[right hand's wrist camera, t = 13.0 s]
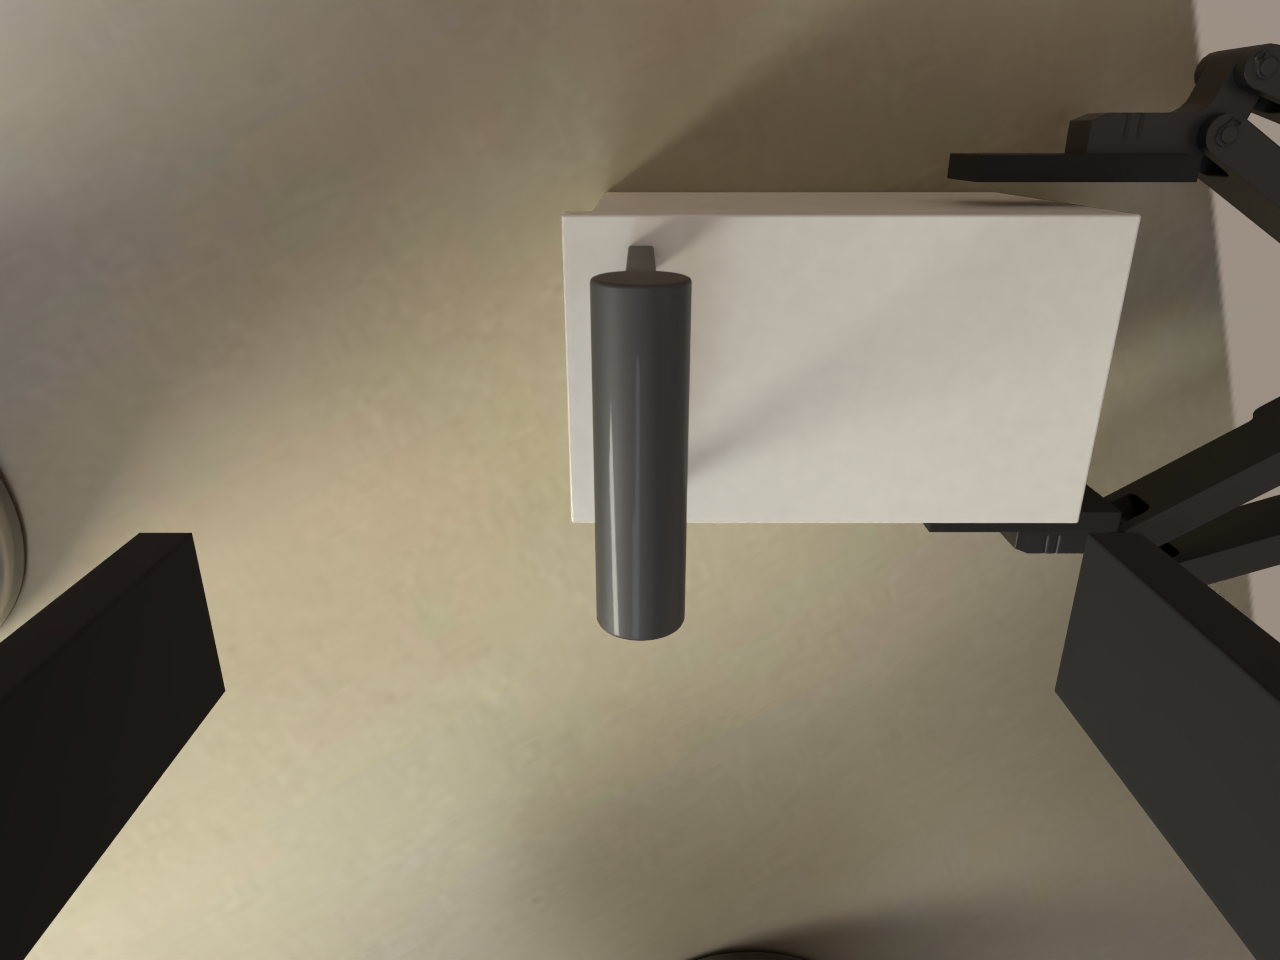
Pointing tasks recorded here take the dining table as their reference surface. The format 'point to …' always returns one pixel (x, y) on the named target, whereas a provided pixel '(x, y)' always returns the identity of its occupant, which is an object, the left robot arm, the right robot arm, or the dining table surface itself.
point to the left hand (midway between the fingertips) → (938, 349)
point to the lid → (827, 375)
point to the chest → (828, 201)
